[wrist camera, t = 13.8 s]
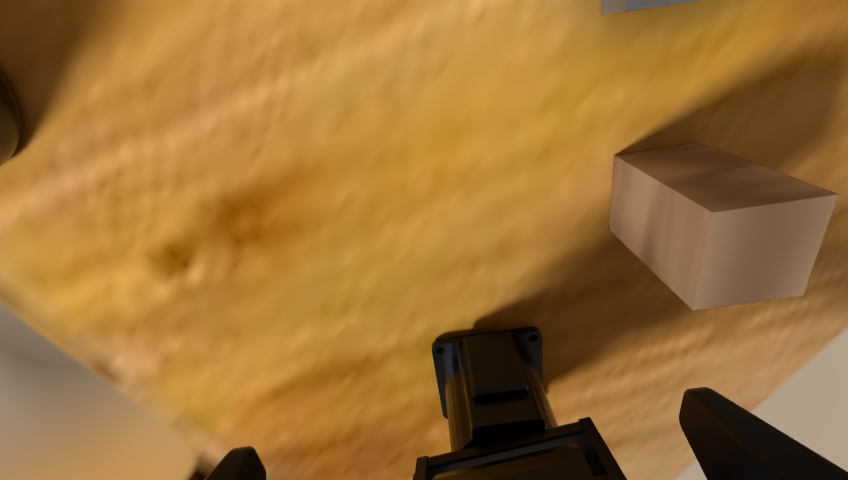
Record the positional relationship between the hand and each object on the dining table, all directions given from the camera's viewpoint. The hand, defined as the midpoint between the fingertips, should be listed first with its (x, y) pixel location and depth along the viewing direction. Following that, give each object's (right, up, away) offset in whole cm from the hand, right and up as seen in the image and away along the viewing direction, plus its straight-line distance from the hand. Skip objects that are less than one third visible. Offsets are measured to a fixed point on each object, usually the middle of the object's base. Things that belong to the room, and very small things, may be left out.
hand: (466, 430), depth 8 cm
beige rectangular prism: (+10, +7, +12) cm, 17 cm away
